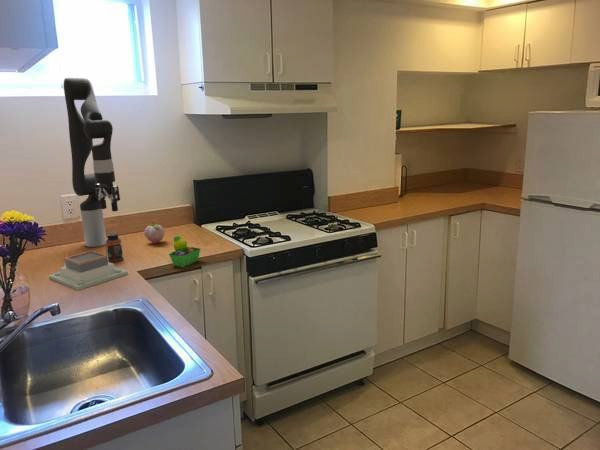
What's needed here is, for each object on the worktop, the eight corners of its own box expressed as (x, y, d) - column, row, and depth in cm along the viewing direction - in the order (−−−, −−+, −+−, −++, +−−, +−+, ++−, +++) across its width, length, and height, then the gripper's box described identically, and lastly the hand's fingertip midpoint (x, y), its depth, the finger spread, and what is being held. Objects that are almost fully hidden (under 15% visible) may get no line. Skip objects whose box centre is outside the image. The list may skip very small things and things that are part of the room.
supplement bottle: (126, 258, 208) (123, 232, 205) (117, 262, 203) (113, 236, 200) (115, 257, 210) (111, 232, 207) (105, 261, 205) (101, 235, 202)
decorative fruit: (169, 242, 230) (167, 221, 228) (156, 246, 224) (153, 225, 221) (156, 239, 235) (153, 219, 233) (142, 244, 229) (140, 223, 226)
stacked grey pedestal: (49, 278, 187) (45, 258, 185) (98, 263, 202) (95, 245, 200) (78, 290, 174) (74, 269, 172) (128, 273, 189) (125, 254, 187)
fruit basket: (182, 268, 193) (179, 241, 190) (166, 265, 198) (163, 238, 195) (202, 260, 202) (200, 234, 199) (187, 257, 207) (184, 231, 204)
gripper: (86, 171, 199) (91, 209, 203) (104, 173, 190) (110, 213, 194) (103, 168, 204) (108, 206, 208) (122, 170, 196) (127, 210, 200)
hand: (109, 210), depth 201 cm, fingers open, 8 cm apart
